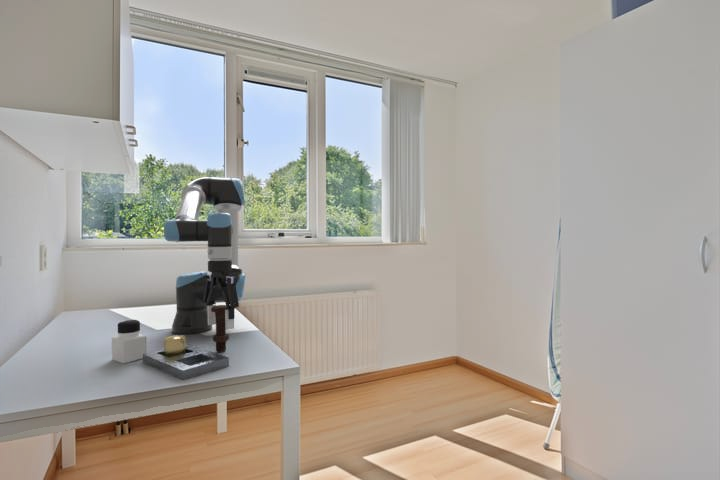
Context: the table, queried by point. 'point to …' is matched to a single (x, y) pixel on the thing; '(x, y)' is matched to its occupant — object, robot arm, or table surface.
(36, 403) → the table surface
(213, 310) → the bolt
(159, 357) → the hole plate
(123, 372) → the table surface
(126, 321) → the medicine bottle
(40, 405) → the table surface
